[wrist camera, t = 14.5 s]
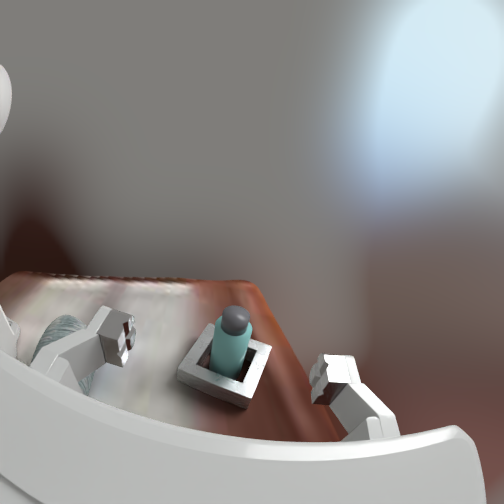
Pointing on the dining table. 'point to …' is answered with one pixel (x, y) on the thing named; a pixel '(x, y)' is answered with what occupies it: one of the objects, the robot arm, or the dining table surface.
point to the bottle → (230, 342)
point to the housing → (217, 383)
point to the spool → (59, 330)
